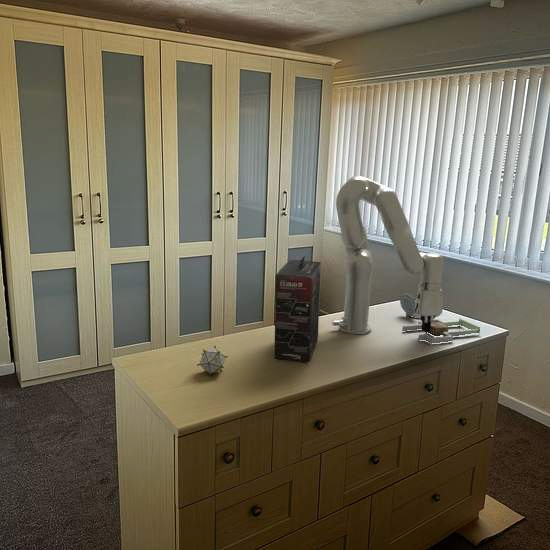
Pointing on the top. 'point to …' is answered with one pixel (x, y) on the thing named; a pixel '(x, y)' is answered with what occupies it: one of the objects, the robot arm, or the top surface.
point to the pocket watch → (408, 304)
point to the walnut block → (438, 329)
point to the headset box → (297, 310)
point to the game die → (212, 360)
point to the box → (446, 335)
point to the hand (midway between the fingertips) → (425, 331)
